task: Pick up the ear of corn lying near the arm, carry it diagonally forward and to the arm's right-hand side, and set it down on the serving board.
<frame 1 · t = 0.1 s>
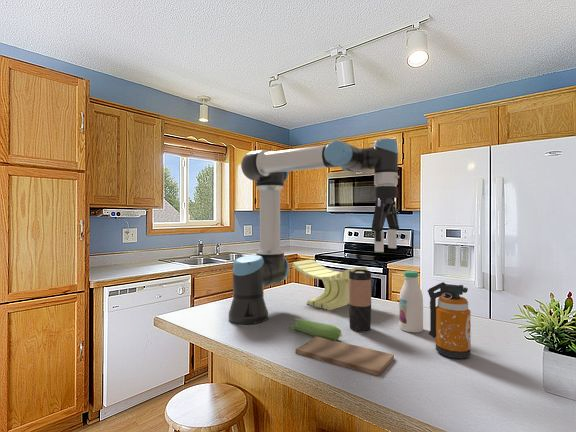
hand: (386, 249, 112), 28 cm above the worktop, tool pointing down, fingers open, 13 cm apart
milk bottle: (411, 330, 116), on the worktop
edible corn: (314, 336, 111), on the worktop
slatted curved stool: (329, 304, 150), on the worktop
canister: (448, 353, 96), on the worktop
travel mug: (360, 329, 117), on the worktop
serving board: (343, 355, 94), on the worktop
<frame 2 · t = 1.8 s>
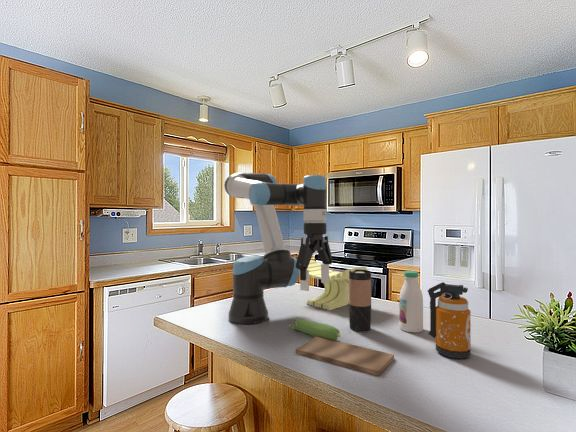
hand: (315, 286, 111), 16 cm above the worktop, tool pointing down, fingers open, 13 cm apart
nothing on the worktop moved.
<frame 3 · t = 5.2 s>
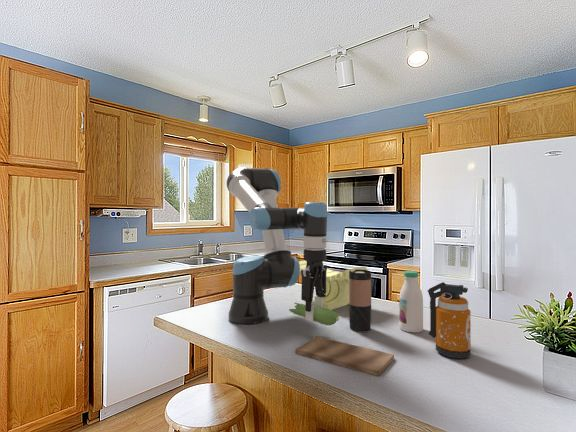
hand: (313, 318, 112), 5 cm above the worktop, tool pointing down, fingers closed on edible corn, 5 cm apart
edible corn: (313, 320, 112), point 4 cm above the worktop, touching gripper
everything else where it was.
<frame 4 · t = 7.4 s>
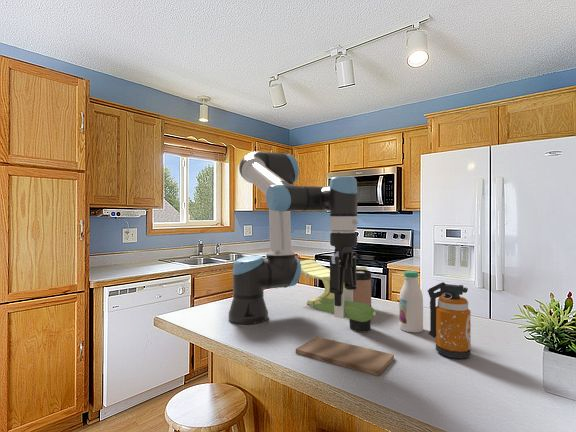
hand: (343, 314, 94), 12 cm above the worktop, tool pointing down, fingers closed on edible corn, 5 cm apart
edible corn: (342, 316, 95), point 11 cm above the worktop, touching gripper
everything else where it was.
when the fingers open (2 cm above the worktop, at t = 9.6 s): edible corn stays where it is, resting on serving board.
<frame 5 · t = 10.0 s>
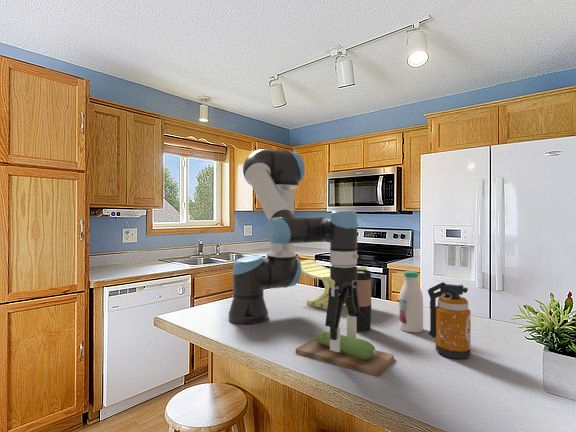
hand: (343, 344, 94), 3 cm above the worktop, tool pointing down, fingers open, 10 cm apart
edible corn: (342, 351, 95), point 1 cm above the worktop, touching serving board
everything else where it was.
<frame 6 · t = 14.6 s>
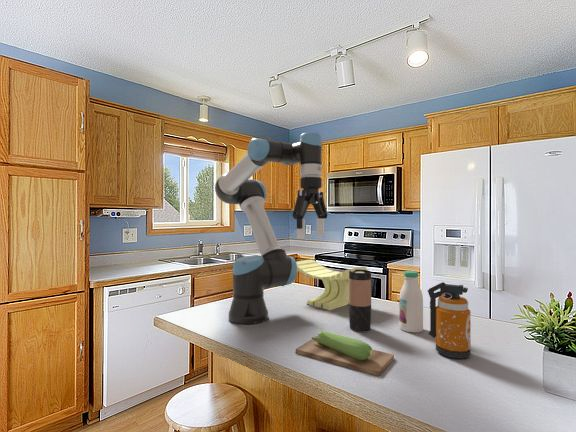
hand: (311, 237, 119), 32 cm above the worktop, tool pointing down, fingers open, 13 cm apart
at the end: edible corn inside the target area on the serving board (0.8 cm from its centre), point 1.0 cm above the serving board's base; edible corn touching serving board; the gripper is holding nothing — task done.
